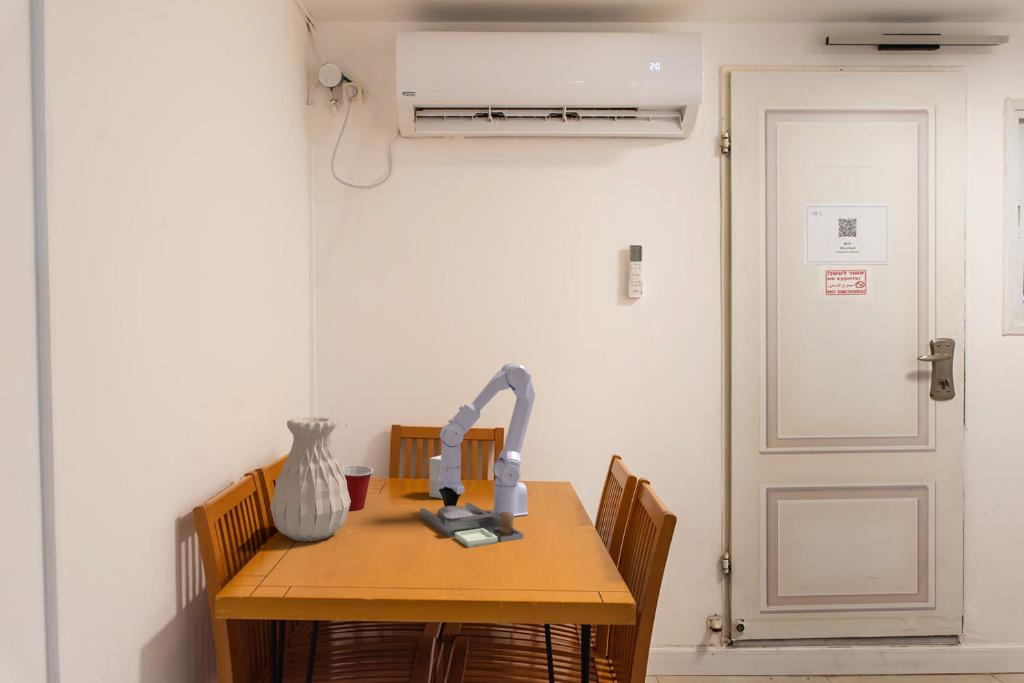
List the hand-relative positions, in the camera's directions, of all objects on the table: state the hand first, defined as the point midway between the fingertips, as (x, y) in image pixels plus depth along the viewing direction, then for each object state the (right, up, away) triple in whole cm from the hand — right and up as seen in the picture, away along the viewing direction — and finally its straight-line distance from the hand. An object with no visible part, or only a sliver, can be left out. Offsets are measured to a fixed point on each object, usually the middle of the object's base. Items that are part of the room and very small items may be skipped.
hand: (450, 513), depth 189 cm
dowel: (+16, -2, -17) cm, 24 cm away
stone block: (+3, -2, -6) cm, 7 cm away
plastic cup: (-29, -1, +7) cm, 30 cm away
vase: (-34, -1, -18) cm, 39 cm away
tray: (+9, -2, -21) cm, 22 cm away
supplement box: (-4, -1, +24) cm, 24 cm away
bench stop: (+3, -1, -6) cm, 7 cm away
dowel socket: (+16, -2, -17) cm, 24 cm away
